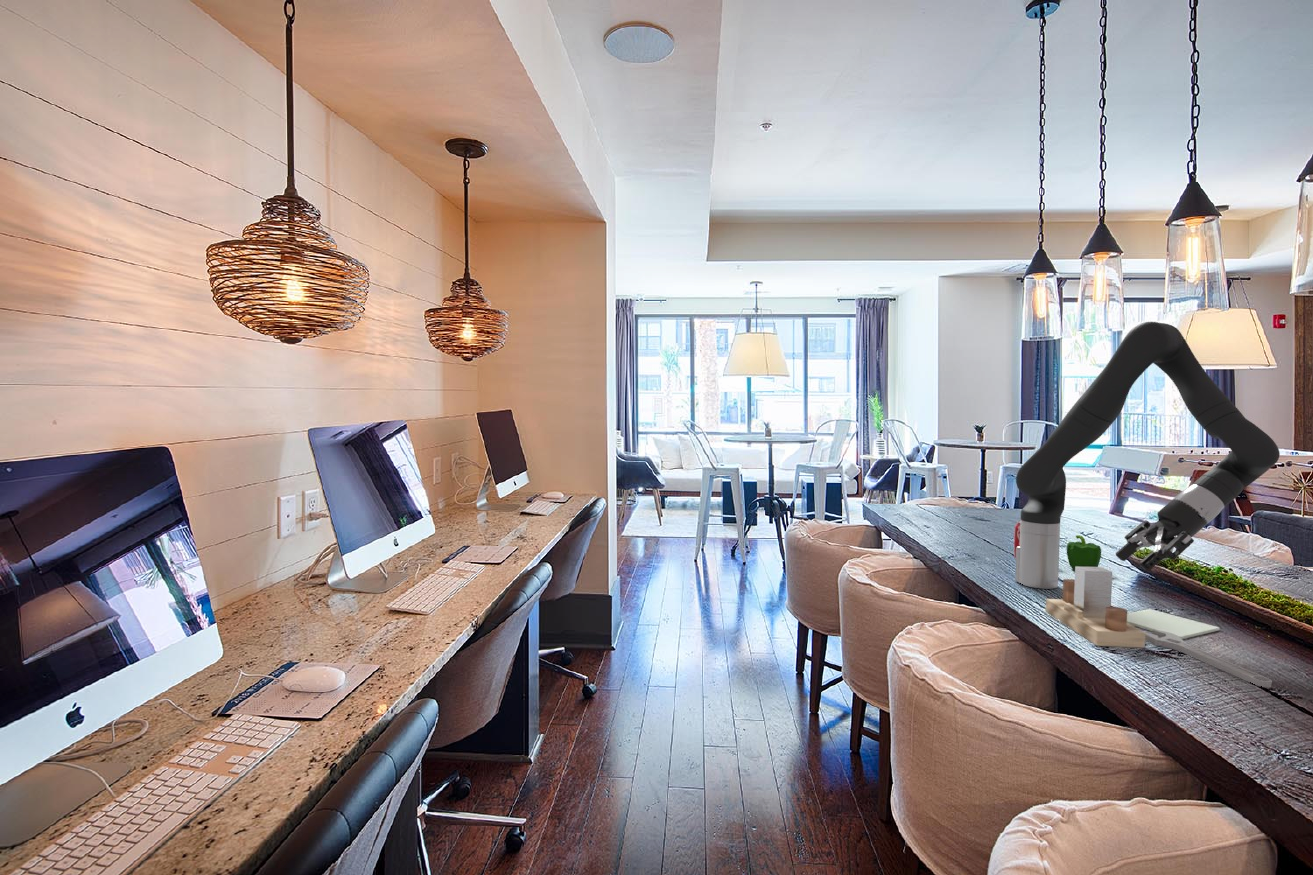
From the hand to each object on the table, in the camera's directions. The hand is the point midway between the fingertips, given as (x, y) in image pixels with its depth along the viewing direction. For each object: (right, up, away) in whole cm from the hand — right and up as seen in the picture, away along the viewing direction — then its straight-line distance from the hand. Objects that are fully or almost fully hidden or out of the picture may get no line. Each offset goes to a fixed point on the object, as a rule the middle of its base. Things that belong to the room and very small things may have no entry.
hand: (1130, 562), depth 143 cm
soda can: (+13, -11, +63) cm, 65 cm away
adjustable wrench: (+2, -16, -15) cm, 22 cm away
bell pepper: (+22, -12, +51) cm, 57 cm away
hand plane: (-7, -14, +2) cm, 16 cm away
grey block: (-7, -11, +1) cm, 14 cm away
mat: (+10, -14, +4) cm, 18 cm away
